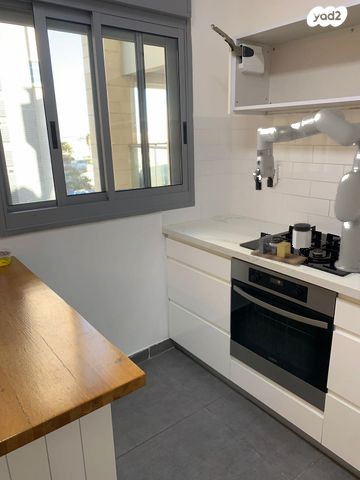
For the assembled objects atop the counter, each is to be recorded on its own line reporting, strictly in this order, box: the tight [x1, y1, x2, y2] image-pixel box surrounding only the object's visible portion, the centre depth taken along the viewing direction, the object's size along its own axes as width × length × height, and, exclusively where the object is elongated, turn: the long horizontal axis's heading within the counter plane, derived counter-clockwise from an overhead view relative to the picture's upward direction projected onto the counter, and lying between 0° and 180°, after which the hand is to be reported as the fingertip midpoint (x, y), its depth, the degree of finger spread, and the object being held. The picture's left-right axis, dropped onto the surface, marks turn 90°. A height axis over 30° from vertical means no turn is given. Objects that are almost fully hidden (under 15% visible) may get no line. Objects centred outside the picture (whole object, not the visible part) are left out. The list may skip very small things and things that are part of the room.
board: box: [250, 248, 308, 267], centre depth 171 cm, size 25×10×1 cm, turn 43°
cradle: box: [272, 247, 277, 256], centre depth 172 cm, size 2×3×4 cm, turn 132°
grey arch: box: [258, 234, 274, 254], centre depth 175 cm, size 2×8×9 cm, turn 133°
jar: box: [292, 222, 312, 250], centre depth 182 cm, size 9×8×12 cm
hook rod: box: [266, 241, 291, 258], centre depth 172 cm, size 16×5×6 cm, turn 43°
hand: (264, 188), depth 178 cm, fingers open, 9 cm apart
